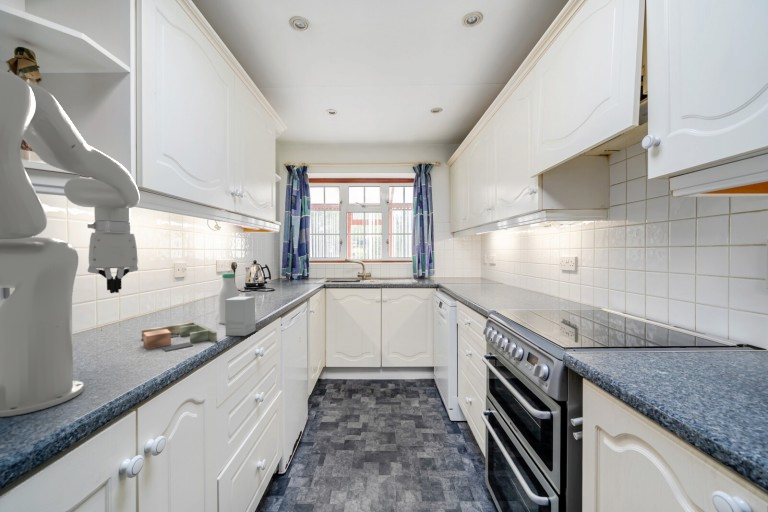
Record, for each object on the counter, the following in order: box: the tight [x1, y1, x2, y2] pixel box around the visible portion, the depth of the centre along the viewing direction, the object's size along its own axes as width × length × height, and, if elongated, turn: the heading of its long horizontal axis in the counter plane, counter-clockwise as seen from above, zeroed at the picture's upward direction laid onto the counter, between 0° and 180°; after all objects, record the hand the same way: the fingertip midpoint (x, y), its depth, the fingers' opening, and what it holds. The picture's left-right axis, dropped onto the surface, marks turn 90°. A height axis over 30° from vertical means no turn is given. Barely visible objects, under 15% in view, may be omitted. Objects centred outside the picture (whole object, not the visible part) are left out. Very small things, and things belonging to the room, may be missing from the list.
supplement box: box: [224, 296, 256, 337], centre depth 107 cm, size 7×7×13 cm
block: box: [143, 329, 172, 350], centre depth 94 cm, size 6×6×4 cm
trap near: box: [161, 341, 194, 353], centre depth 91 cm, size 7×4×1 cm, turn 138°
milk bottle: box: [217, 272, 240, 325], centre depth 124 cm, size 8×8×20 cm
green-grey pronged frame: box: [141, 321, 218, 344], centre depth 98 cm, size 16×22×3 cm
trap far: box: [171, 333, 180, 339], centre depth 101 cm, size 7×4×1 cm, turn 138°
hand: (114, 292), depth 86 cm, fingers closed
